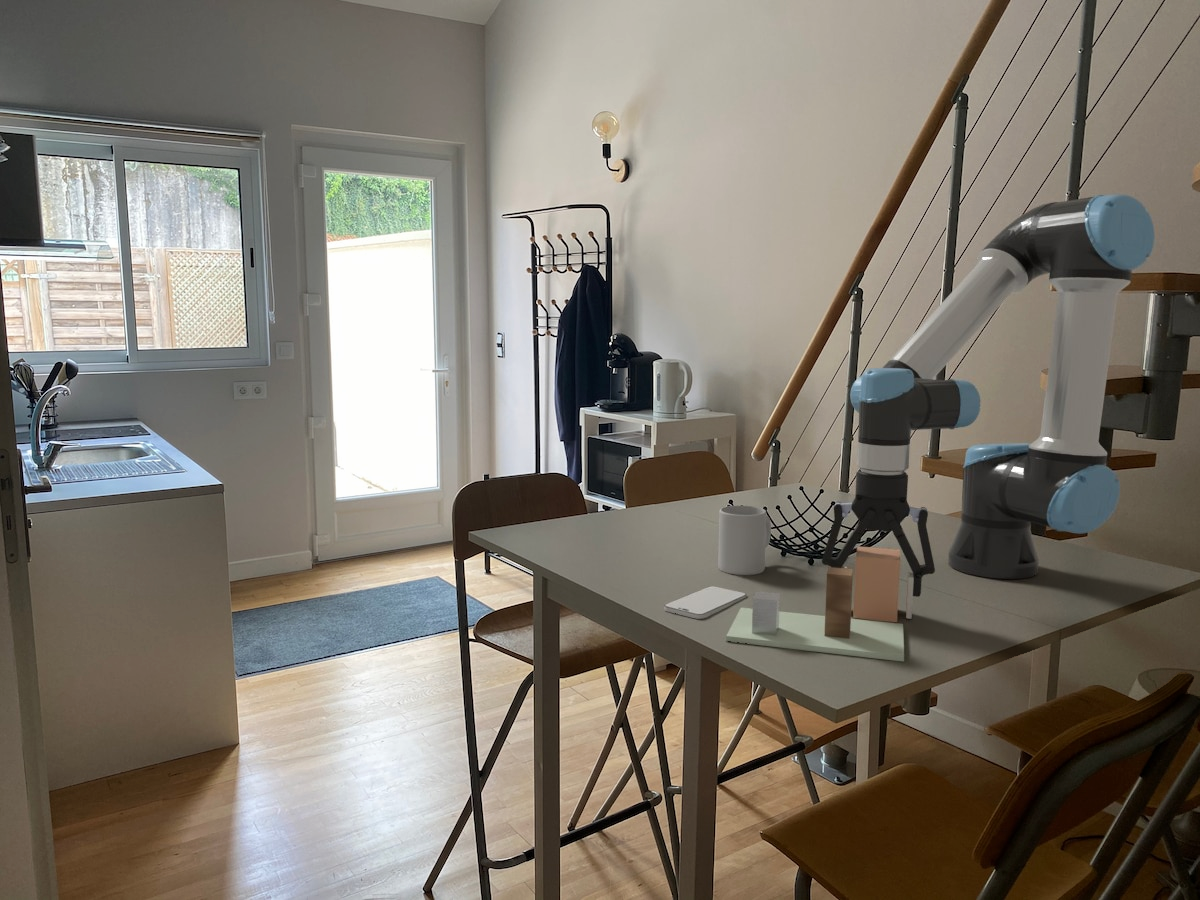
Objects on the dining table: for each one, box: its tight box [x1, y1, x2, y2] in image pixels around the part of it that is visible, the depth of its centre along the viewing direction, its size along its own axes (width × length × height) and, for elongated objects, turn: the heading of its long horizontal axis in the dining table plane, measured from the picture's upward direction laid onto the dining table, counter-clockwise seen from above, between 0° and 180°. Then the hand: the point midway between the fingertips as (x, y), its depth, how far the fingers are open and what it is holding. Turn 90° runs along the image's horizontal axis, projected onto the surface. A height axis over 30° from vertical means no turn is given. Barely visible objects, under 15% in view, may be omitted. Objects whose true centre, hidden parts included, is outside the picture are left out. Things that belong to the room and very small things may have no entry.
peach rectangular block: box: [852, 545, 901, 623], centre depth 137 cm, size 6×6×10 cm
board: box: [725, 607, 905, 662], centre depth 128 cm, size 24×13×1 cm, turn 72°
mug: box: [717, 505, 772, 576], centre depth 162 cm, size 12×8×11 cm
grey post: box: [752, 591, 781, 636], centre depth 128 cm, size 3×3×6 cm
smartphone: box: [663, 586, 747, 620], centre depth 143 cm, size 7×1×15 cm
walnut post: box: [824, 566, 854, 639], centre depth 126 cm, size 3×3×10 cm
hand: (874, 612), depth 137 cm, fingers open, 9 cm apart
